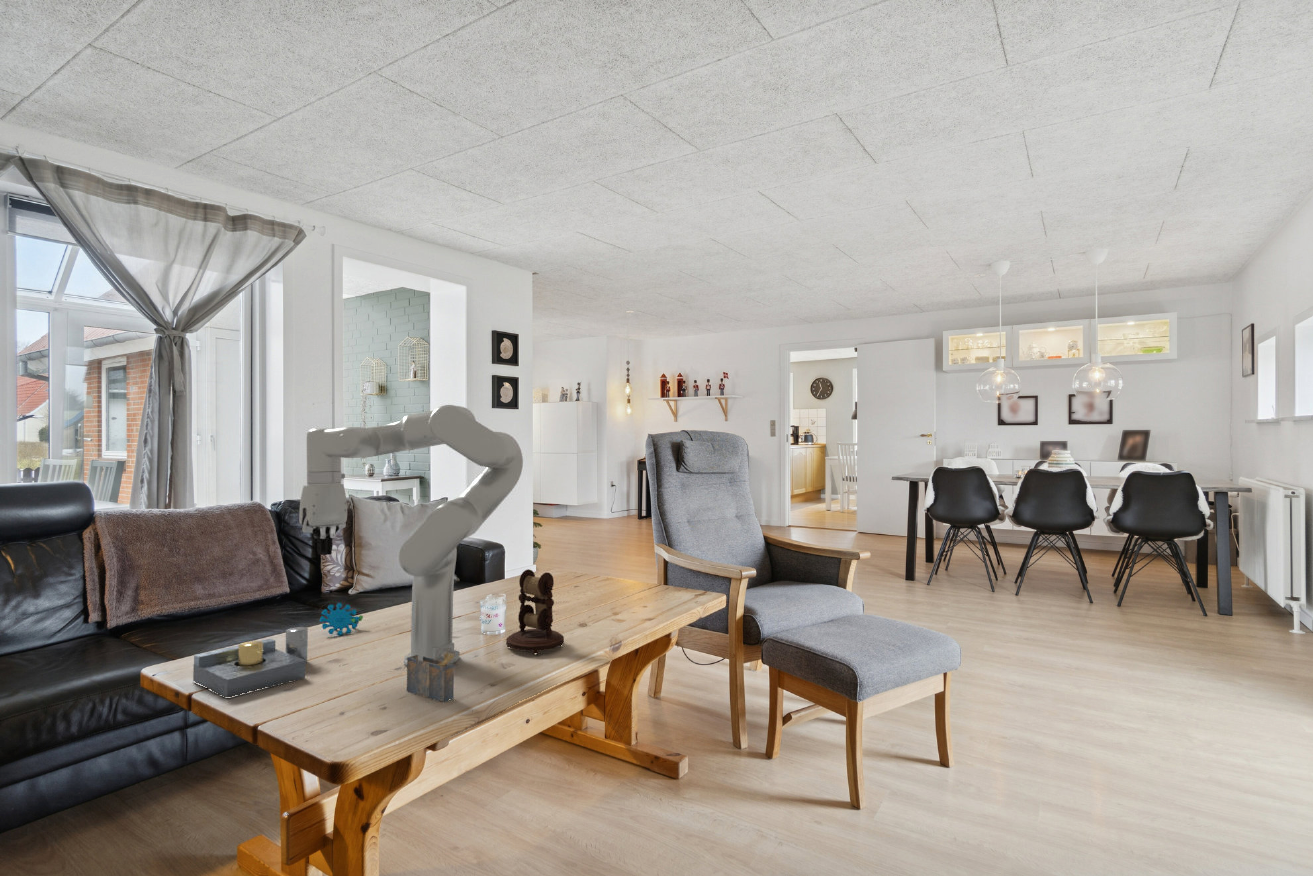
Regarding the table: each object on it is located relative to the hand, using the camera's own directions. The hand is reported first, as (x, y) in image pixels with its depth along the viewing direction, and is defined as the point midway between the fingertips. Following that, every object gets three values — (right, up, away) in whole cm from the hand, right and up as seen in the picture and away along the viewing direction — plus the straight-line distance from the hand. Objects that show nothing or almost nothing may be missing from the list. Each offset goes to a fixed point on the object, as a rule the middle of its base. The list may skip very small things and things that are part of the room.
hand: (324, 554), depth 167 cm
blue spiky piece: (-6, -26, +23) cm, 35 cm away
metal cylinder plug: (-5, -25, -4) cm, 26 cm away
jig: (-9, -25, -16) cm, 31 cm away
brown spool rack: (+49, -27, +11) cm, 57 cm away
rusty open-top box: (+33, -26, -23) cm, 48 cm away
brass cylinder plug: (-9, -25, -16) cm, 31 cm away
